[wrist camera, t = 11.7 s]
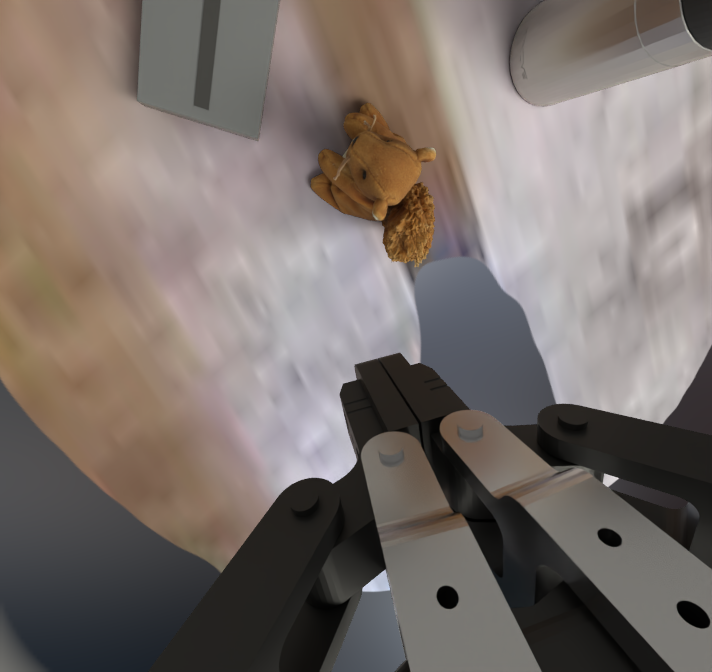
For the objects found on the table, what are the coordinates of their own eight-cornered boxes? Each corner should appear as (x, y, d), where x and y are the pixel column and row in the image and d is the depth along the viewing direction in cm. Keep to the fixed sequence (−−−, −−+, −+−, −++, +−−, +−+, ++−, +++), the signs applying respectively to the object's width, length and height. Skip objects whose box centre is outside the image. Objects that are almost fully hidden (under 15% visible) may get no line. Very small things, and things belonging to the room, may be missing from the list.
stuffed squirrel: (362, 95, 36) (409, 47, 24) (444, 203, 41) (515, 208, 29) (294, 171, 37) (306, 162, 25) (383, 266, 43) (428, 295, 31)
